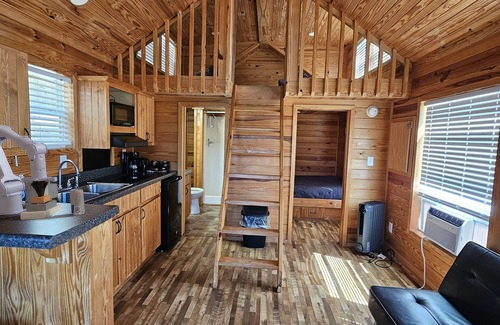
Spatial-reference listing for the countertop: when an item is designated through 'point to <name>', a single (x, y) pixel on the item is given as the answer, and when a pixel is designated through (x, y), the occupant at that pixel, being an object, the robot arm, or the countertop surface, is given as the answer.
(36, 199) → the button
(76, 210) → the energy drink
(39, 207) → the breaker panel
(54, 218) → the countertop surface
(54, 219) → the countertop surface
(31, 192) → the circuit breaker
